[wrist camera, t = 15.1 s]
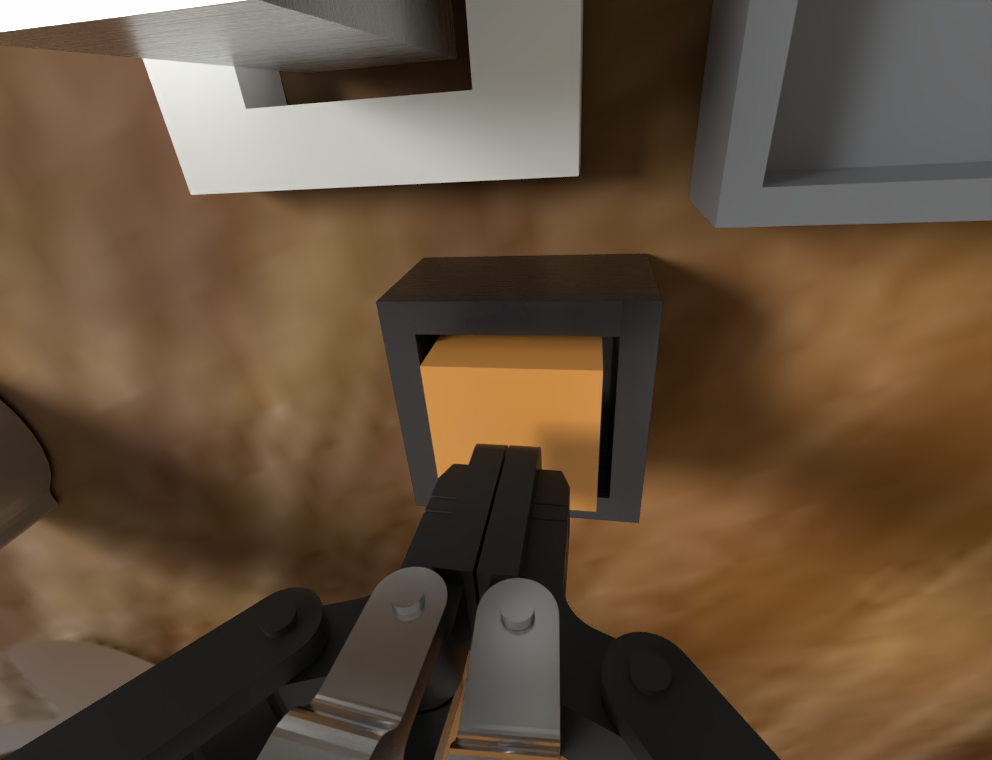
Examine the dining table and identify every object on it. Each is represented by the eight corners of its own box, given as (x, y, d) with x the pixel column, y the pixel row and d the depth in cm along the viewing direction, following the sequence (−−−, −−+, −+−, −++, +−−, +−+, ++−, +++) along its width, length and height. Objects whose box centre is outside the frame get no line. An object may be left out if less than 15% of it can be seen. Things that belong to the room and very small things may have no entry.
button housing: (630, 442, 18) (638, 523, 14) (448, 433, 19) (416, 505, 16) (646, 253, 14) (662, 301, 11) (423, 257, 16) (376, 301, 12)
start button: (595, 456, 15) (596, 511, 13) (460, 449, 16) (441, 500, 14) (601, 328, 13) (602, 370, 11) (445, 327, 14) (419, 366, 12)
